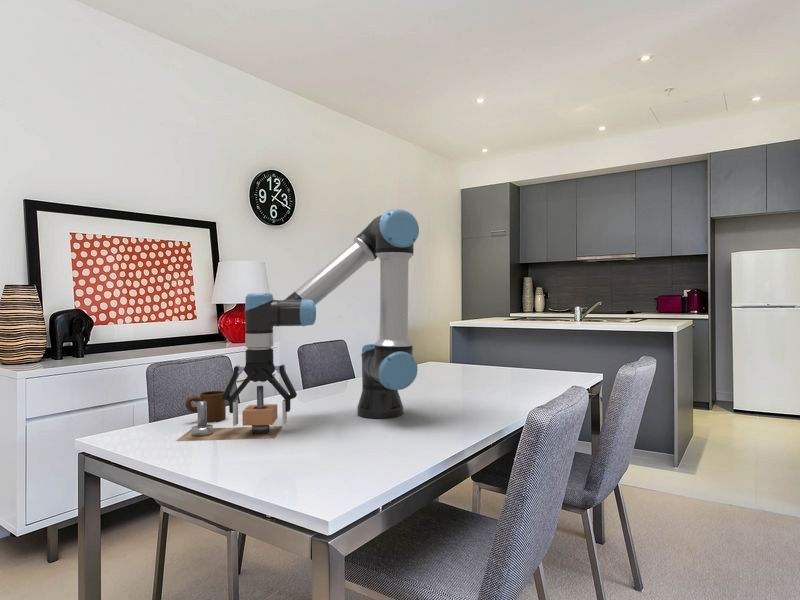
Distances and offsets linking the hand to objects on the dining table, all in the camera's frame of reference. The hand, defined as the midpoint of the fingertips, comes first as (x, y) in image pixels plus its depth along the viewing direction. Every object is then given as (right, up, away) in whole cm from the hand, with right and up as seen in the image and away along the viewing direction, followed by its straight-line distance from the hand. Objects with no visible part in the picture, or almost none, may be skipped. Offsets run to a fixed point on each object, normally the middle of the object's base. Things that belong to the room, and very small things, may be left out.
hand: (260, 424), depth 146 cm
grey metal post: (-16, -3, -1) cm, 16 cm away
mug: (-21, -4, +15) cm, 26 cm away
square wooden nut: (0, +1, 0) cm, 1 cm away
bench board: (-8, -3, 0) cm, 9 cm away
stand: (0, -2, 0) cm, 2 cm away
